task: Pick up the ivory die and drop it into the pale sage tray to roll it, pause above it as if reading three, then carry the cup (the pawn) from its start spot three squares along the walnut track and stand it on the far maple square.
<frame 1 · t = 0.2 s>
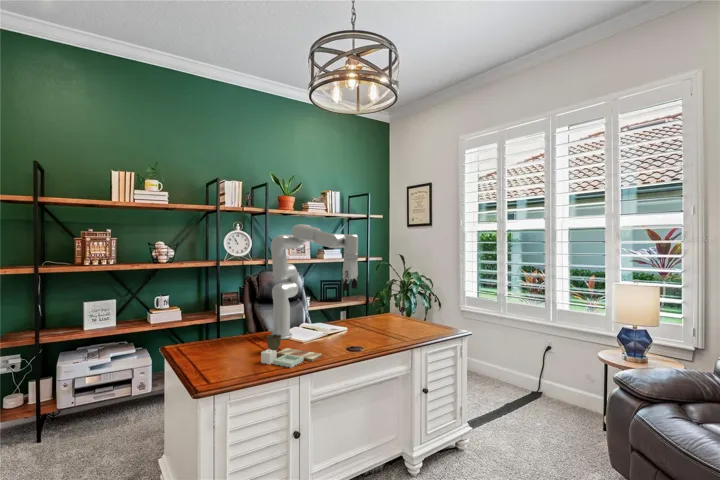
hand: (350, 289, 198), 31 cm above the table, fingers open, 9 cm apart
track: (299, 355, 183), on the table
tray: (288, 362, 172), on the table
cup: (273, 351, 190), on the table
die: (268, 362, 173), on the table
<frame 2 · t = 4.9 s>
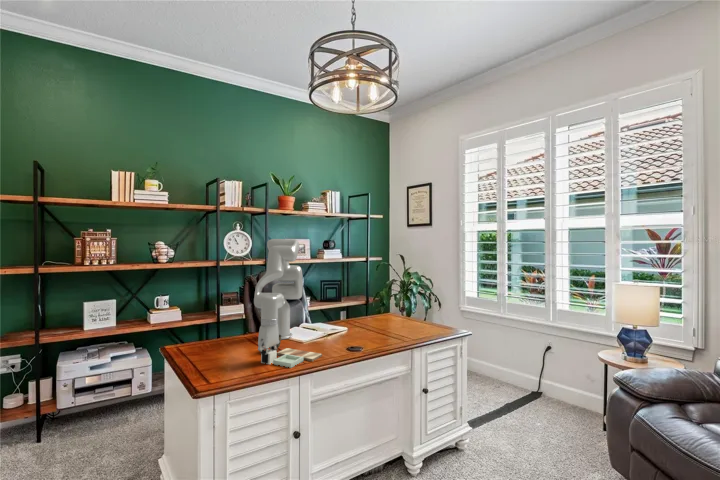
hand: (268, 360, 173), 1 cm above the table, fingers closed on die, 4 cm apart
die: (268, 362, 173), on the table, touching gripper
everything else where it was.
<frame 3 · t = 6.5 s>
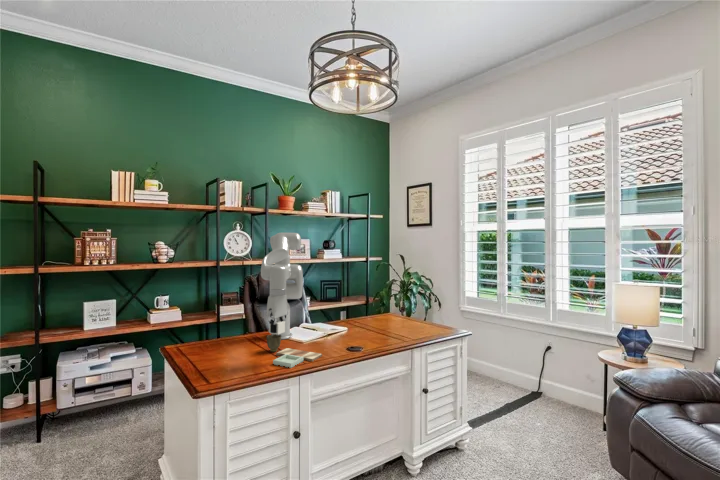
hand: (277, 331, 173), 15 cm above the table, fingers closed on die, 4 cm apart
die: (277, 332, 173), point 14 cm above the table, touching gripper
everything else where it was.
when the fingers open (4 cm above the table, at t = 8.2 s): die drops 3 cm, resting on tray.
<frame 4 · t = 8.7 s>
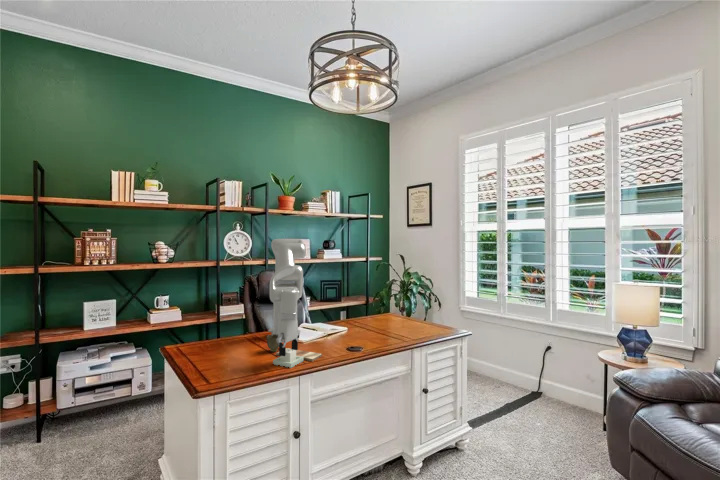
hand: (288, 352, 172), 5 cm above the table, fingers open, 9 cm apart
die: (288, 361, 173), point 1 cm above the table, touching tray
everything else where it was.
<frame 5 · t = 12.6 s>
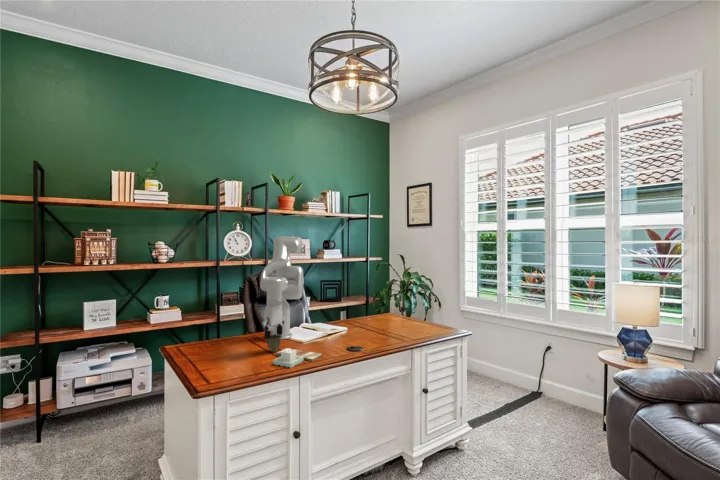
hand: (273, 336, 189), 8 cm above the table, fingers open, 9 cm apart
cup: (273, 351, 190), on the table, touching gripper
everything else where it was.
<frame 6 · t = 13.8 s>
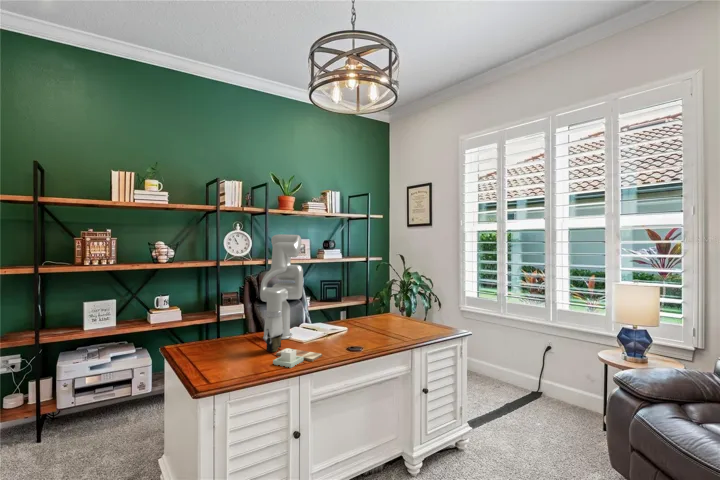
hand: (273, 348, 190), 1 cm above the table, fingers closed on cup, 6 cm apart
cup: (273, 351, 190), on the table, touching gripper
everything else where it was.
when the fingers open (4 cm above the table, at t = 18.7 s): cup drops 1 cm, resting on track.
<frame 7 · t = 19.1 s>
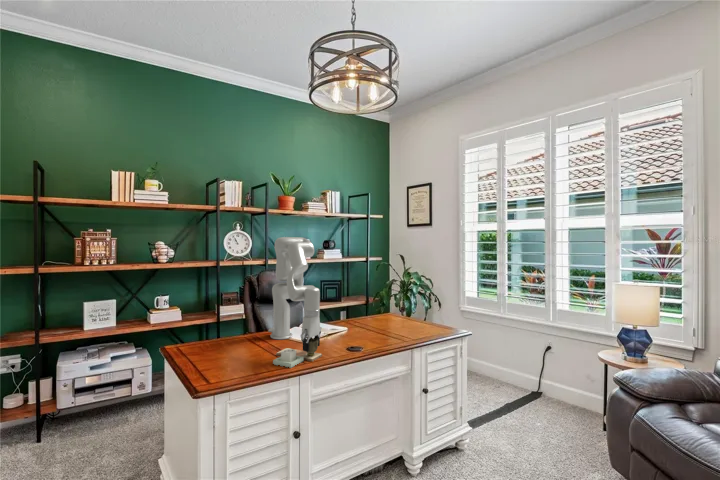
hand: (311, 348, 180), 5 cm above the table, fingers open, 9 cm apart
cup: (310, 355, 180), point 1 cm above the table, touching track
everything else where it was.
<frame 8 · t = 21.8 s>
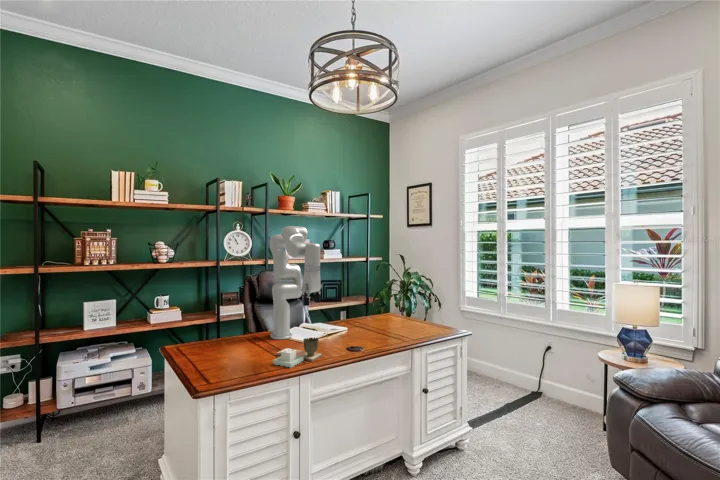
hand: (311, 303, 180), 26 cm above the table, fingers open, 9 cm apart
nothing on the table moved.
at the end: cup 0.2 cm from the target spot on the track, point 1.0 cm above the track's base; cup tilted 0°; die 0.1 cm from the tray (horizontally) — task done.
